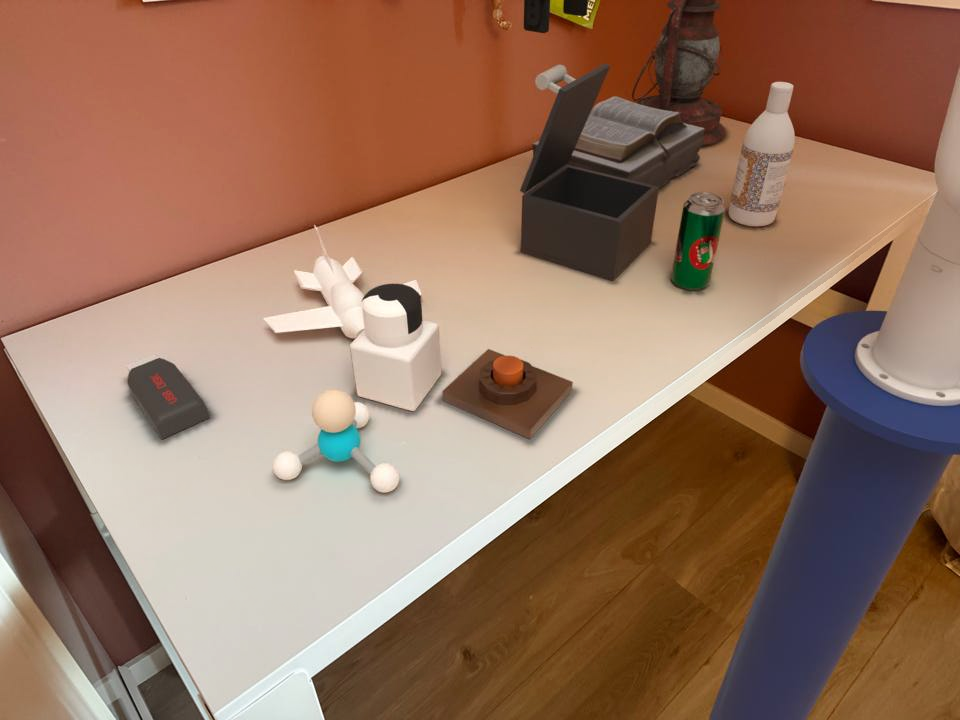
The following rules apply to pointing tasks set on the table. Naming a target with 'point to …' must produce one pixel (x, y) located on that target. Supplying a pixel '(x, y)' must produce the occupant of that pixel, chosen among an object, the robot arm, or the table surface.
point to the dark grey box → (588, 220)
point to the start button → (508, 371)
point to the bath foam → (764, 161)
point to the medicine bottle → (395, 348)
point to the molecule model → (338, 441)
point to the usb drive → (165, 396)
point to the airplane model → (329, 298)
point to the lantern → (687, 66)
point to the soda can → (697, 240)
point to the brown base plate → (508, 395)
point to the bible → (636, 142)
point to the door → (563, 120)
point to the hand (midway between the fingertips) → (556, 22)
